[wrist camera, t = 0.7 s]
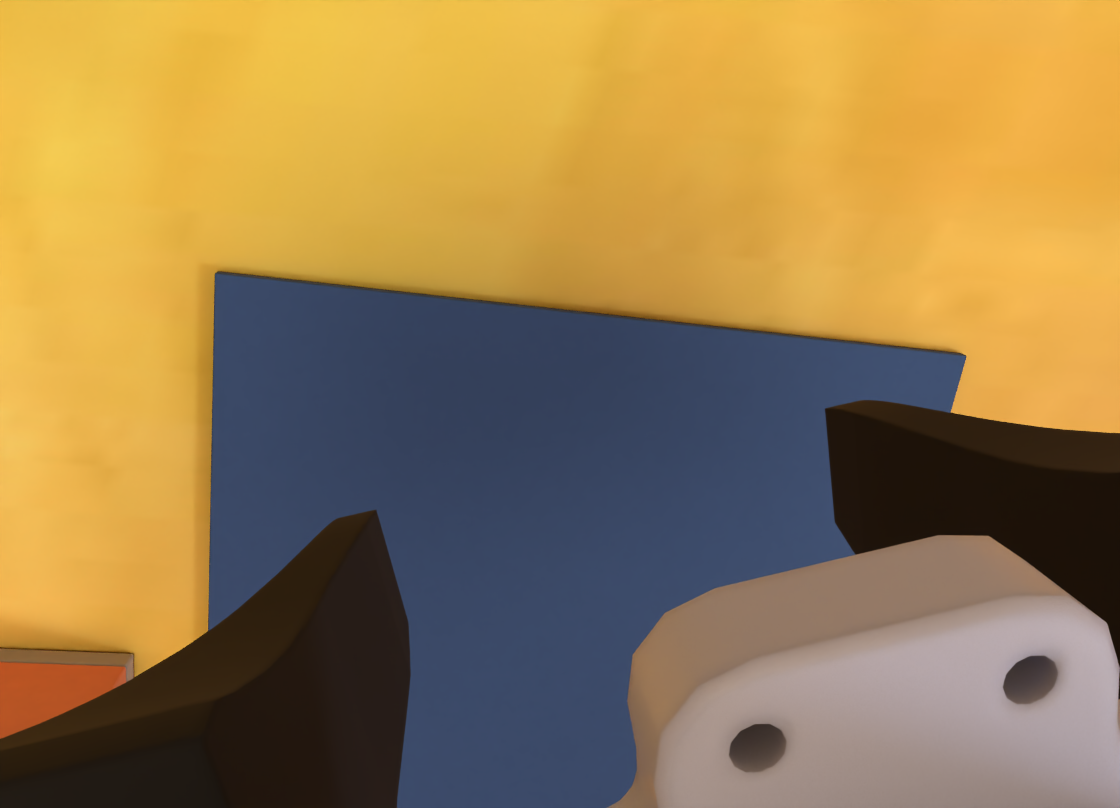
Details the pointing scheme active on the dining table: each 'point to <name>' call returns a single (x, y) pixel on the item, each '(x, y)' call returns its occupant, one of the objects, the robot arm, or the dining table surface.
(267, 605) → the robot arm
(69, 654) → the orange rectangular block
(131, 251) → the dining table surface
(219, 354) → the cloth
